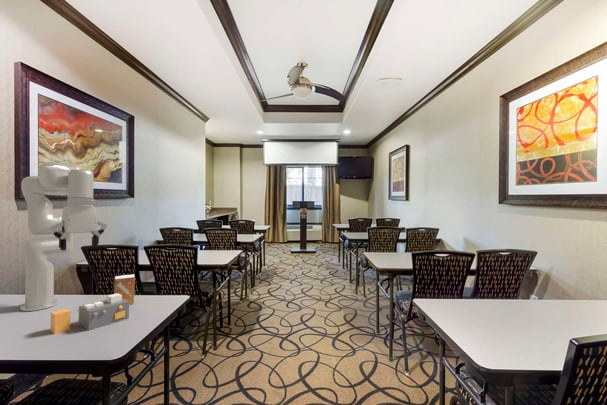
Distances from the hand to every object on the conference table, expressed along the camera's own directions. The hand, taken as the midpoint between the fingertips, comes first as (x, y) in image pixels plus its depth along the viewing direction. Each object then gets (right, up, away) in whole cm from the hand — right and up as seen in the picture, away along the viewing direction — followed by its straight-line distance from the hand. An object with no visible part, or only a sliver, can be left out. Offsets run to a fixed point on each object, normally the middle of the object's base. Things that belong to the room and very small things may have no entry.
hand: (79, 248), depth 104 cm
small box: (-2, -32, +29) cm, 43 cm away
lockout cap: (-8, -31, +1) cm, 32 cm away
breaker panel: (+3, -31, +10) cm, 33 cm away
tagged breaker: (+4, -28, +12) cm, 31 cm away
